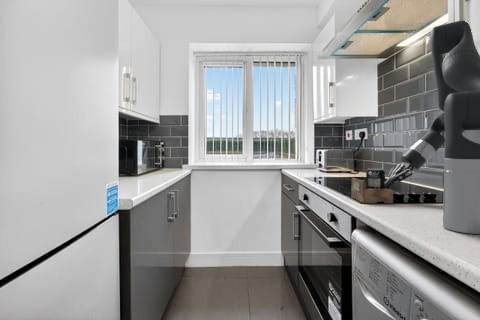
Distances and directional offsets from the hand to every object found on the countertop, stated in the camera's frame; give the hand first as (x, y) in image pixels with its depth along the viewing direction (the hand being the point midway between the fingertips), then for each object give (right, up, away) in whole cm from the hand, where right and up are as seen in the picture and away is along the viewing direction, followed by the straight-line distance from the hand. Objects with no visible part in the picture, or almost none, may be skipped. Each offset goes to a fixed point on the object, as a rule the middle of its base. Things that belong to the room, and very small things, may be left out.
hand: (384, 187), depth 117 cm
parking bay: (-5, -5, 0) cm, 7 cm away
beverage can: (-4, -5, 0) cm, 6 cm away
